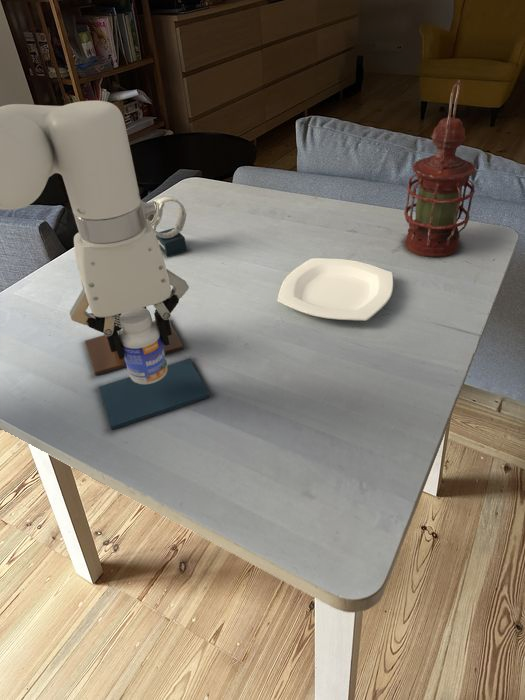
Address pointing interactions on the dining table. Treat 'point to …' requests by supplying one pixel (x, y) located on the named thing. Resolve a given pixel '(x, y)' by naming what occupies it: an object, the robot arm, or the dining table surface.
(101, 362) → the walnut board
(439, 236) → the lantern
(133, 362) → the pill bottle
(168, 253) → the watch
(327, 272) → the plate
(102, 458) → the dining table surface
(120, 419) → the slate mat
